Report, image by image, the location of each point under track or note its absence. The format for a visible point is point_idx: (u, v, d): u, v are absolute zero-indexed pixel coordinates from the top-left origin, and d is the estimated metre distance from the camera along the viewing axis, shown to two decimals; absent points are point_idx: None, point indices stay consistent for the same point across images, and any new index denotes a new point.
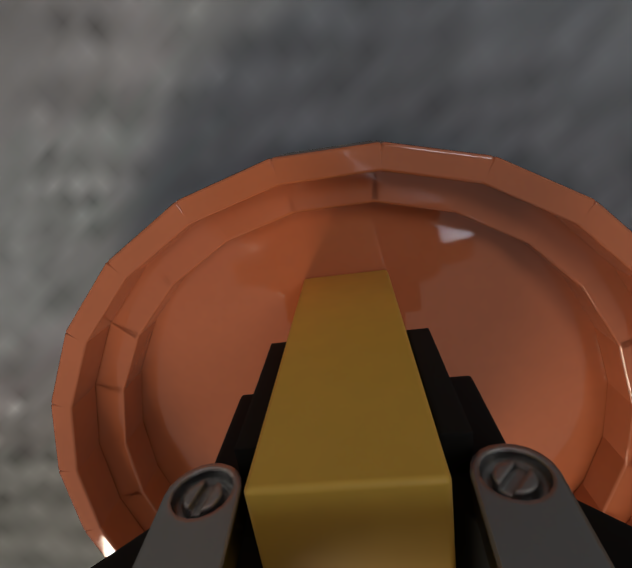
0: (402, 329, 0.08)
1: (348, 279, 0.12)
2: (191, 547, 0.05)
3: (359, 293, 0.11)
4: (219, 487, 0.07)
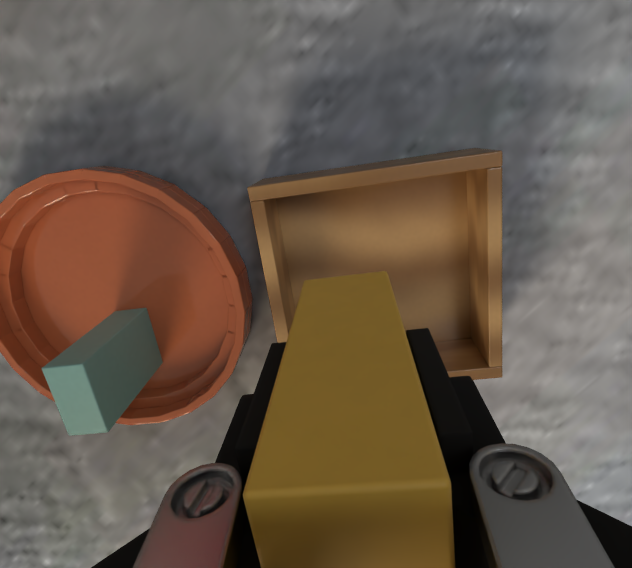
0: (401, 331, 0.08)
1: (348, 280, 0.12)
2: (191, 547, 0.05)
3: (359, 295, 0.11)
4: (219, 487, 0.07)
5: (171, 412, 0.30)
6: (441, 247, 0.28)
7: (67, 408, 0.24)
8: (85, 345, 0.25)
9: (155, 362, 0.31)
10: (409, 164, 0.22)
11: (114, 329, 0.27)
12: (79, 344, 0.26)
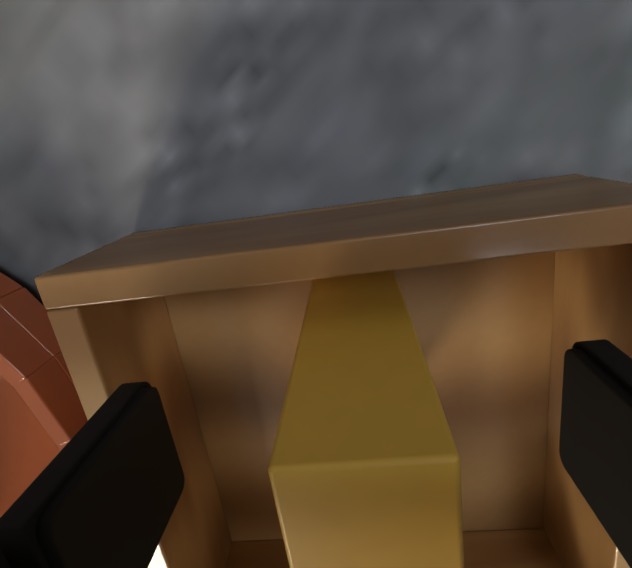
0: (410, 324, 0.09)
1: (356, 277, 0.12)
2: None
3: (367, 290, 0.11)
4: None
5: None
6: (494, 371, 0.14)
7: None
8: None
9: None
10: (440, 228, 0.08)
11: None
12: None
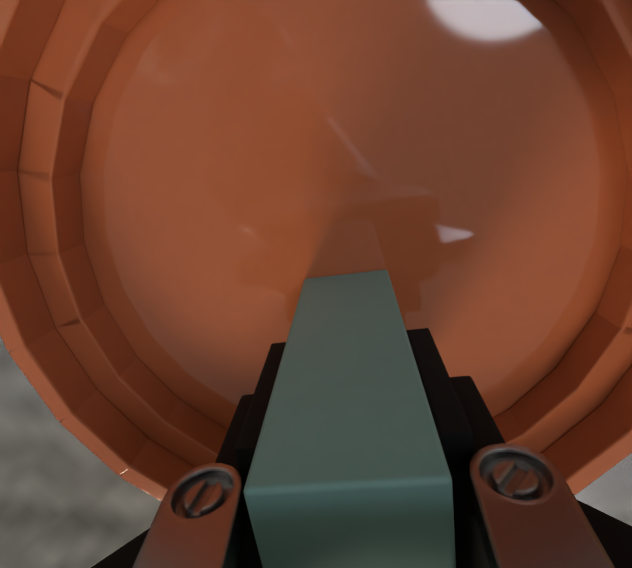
0: None
1: None
2: (191, 547, 0.05)
3: None
4: (219, 487, 0.07)
5: None
6: None
7: None
8: (340, 375, 0.07)
9: None
10: None
11: (376, 320, 0.09)
12: (308, 369, 0.07)
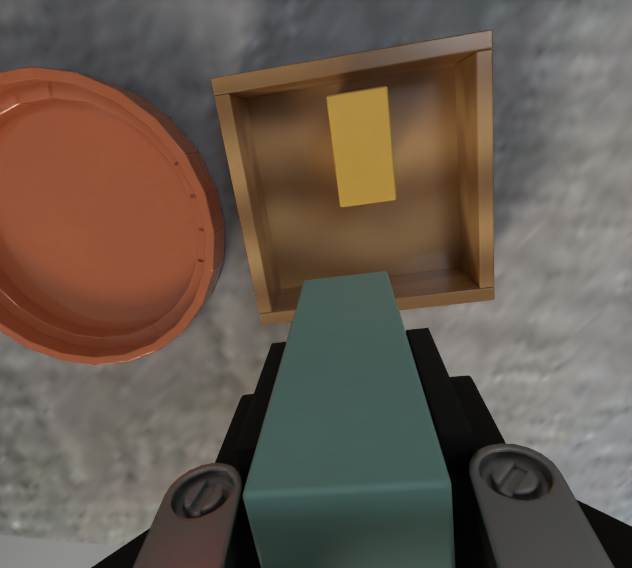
0: None
1: None
2: (191, 547, 0.05)
3: None
4: (219, 487, 0.07)
5: (138, 349, 0.28)
6: (428, 162, 0.25)
7: None
8: (340, 378, 0.07)
9: None
10: (389, 48, 0.20)
11: (376, 322, 0.09)
12: (307, 371, 0.07)
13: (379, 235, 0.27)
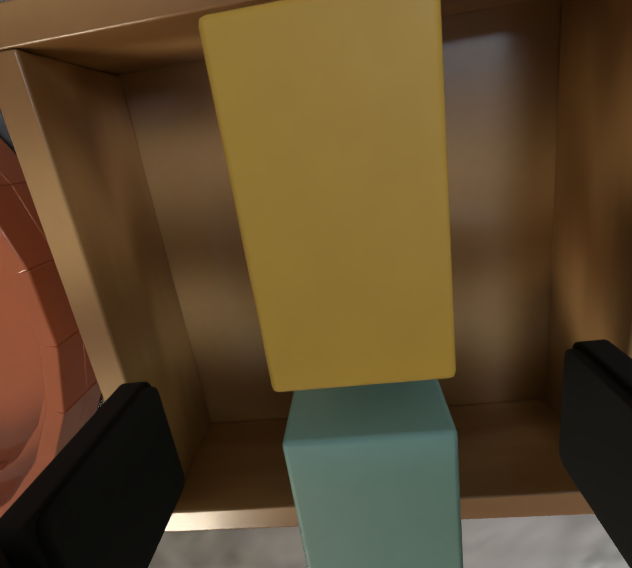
0: None
1: None
2: None
3: None
4: None
5: None
6: (492, 205, 0.12)
7: None
8: None
9: None
10: None
11: None
12: None
13: None
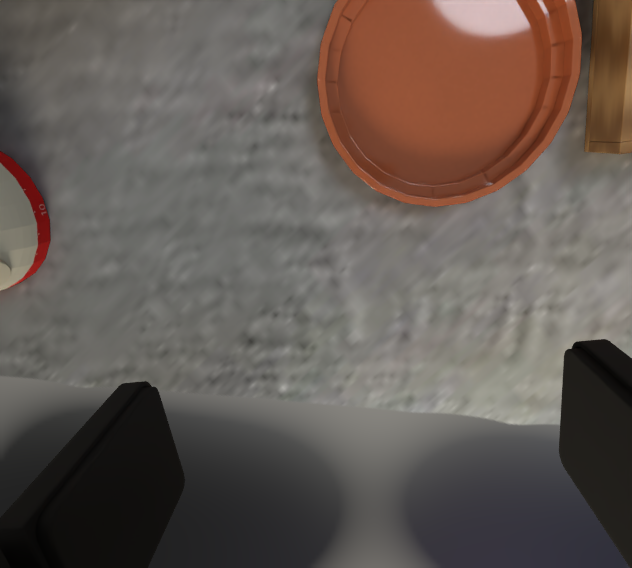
0: None
1: None
2: None
3: None
4: None
5: (478, 190, 0.32)
6: None
7: None
8: None
9: None
10: None
11: None
12: None
13: None
